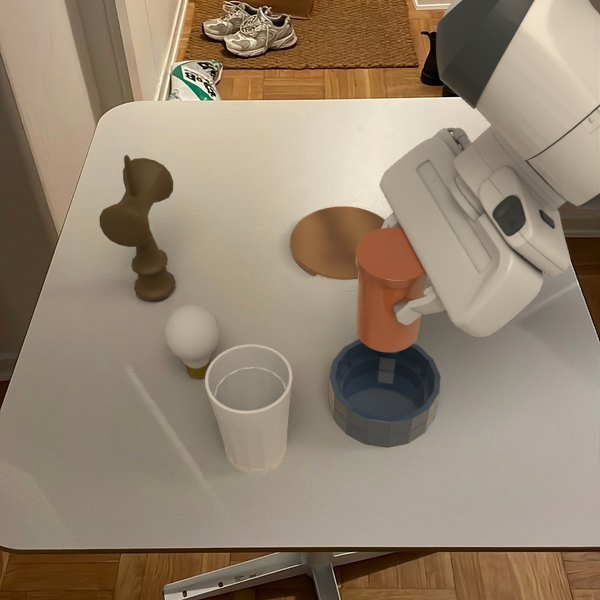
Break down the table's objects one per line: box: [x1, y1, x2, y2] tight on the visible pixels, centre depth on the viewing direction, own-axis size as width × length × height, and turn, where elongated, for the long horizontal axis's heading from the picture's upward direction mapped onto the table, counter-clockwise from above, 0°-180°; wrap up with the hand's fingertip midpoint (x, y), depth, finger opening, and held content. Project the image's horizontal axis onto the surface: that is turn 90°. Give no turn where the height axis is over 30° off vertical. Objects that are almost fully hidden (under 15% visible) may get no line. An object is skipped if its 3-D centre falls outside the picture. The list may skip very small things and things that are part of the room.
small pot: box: [354, 228, 428, 352], centre depth 68 cm, size 7×7×10 cm
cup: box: [204, 343, 294, 475], centre depth 71 cm, size 8×8×12 cm
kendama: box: [98, 154, 176, 302], centre depth 85 cm, size 6×10×20 cm, turn 171°
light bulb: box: [163, 303, 221, 380], centre depth 79 cm, size 6×6×10 cm
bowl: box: [328, 338, 442, 448], centre depth 77 cm, size 11×11×5 cm
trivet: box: [290, 205, 386, 281], centre depth 97 cm, size 14×14×1 cm
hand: (384, 288), depth 67 cm, fingers closed on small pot, 6 cm apart
